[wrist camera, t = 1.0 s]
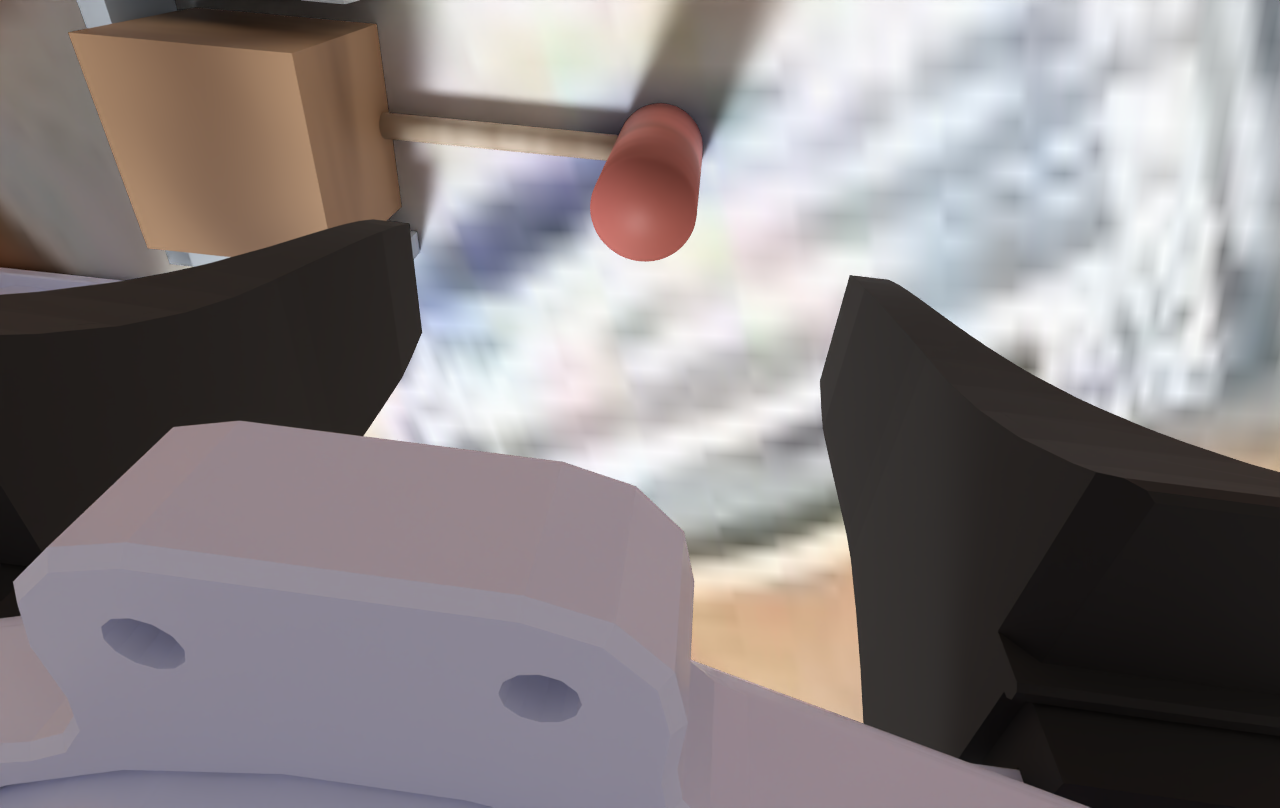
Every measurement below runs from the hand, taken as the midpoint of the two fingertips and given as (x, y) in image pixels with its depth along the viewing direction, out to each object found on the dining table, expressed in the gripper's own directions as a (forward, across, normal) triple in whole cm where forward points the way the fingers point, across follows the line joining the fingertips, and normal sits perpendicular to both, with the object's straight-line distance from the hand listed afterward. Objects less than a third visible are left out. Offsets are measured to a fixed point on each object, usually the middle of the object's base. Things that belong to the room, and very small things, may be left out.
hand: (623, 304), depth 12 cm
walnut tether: (+10, +6, 0) cm, 12 cm away
